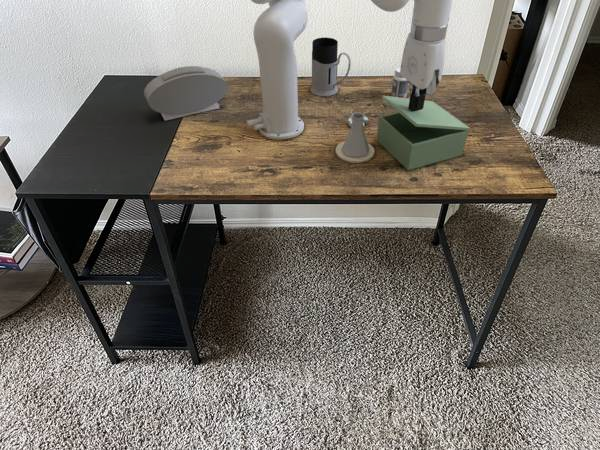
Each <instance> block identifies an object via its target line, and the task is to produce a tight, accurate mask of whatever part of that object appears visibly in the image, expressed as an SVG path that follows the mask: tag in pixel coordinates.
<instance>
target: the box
mask: <svg viewBox="0 0 600 450" xmlns="http://www.w3.org/2000/svg"><path fill="white" fill-rule="evenodd" d="M468 134H469V130H456V129H443V128H430V127H418V126H415V125H414V124H412V123H411V122H410V121H409V120H407V119H406V118H405V117H404V116H403V115H401V114H400V113H399V112H398V111H396V112H393V113H388V114H384V115H380V116H379V117H378V125H377V133H376V142H378V143H379V145H381V146H382V147H383V148H384V149H385V150H386V151H387V152H388V153H389V154H390V155H391V156H392V157H393V158H395V160H396V161H398V163H400V164H401V165H402V166H403V167H404V168H405V170H407V171H411V170H414V169H415V170H416V169H419V168H421V167H425V166H428V165H432V164H435V163H439V162H443V161H446V160H450V159H454V158H457V157H461V156H463V153H464V149H465V147H466V142H467V140H468Z"/></svg>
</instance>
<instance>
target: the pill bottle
mask: <svg viewBox="0 0 600 450" xmlns="http://www.w3.org/2000/svg"><path fill="white" fill-rule="evenodd" d="M400 68H401V66H398V67H395V69H394V75H393V76H392V85H391V92H390V96H391V97H400V98H407V97H408V91H409V90H408V89H409V81H408V80H406V79H405V78H404V77H403V76H402V75H401V73H400Z"/></svg>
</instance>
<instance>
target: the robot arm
mask: <svg viewBox="0 0 600 450" xmlns="http://www.w3.org/2000/svg"><path fill="white" fill-rule="evenodd" d="M250 1H251V2H252V3H254V4H257V5H265V4H268V6H269V7H268V8H266V9H265V10H264V11H262V12H261V13H260V15H259V16H258V17H257V19H256V20H255V23H254V25H253V26H254V27H253V41H254V45H255V49H256V55H257V59H258V66H259V67H258V68H259V69H258V70H259V77H260V78H259V79H260V90H261V91H260V92H261V101H262V112H260V113H259V116H257V118H255V119H253V118H252V119H249V120H248V119H247V120H246V126H247V128H248V129H249V128H253V129H254V130H255V131H257V130H258V132H259V133H260V134H261V135H262V136H264V137H265V138H268V139H271V140H275V141H276V140H277V141H281V140H291V139H293V138H295V137H298V136H299V135H301V134H302V133H303V132H304V129H305V123H304V121H303V120H302V119H301V118H300V117H299V92H298V90H299V89H298V64H297V63H298V62H297V57H296V53H295V48H294V44H295V41H296V40H297V39H298V38H299V37H300V35H301V34H302V33H303V32H304V31H305V30H306V27H307V25H308V18H309V17H308V16H309V15H308V9H307V5H306V1H305V0H250ZM370 1H371V2H372V3H373V5H375V6H376V7H377V8H379V9H380V10H382V11H384V12H387V13H392V12H394V13H395V12H398V11H400V10H402V9H403V8H404V7H405V6H406V5H407V4H408V2H409V1H410V0H370ZM452 5H453V0H413V8H412V9H413V10H412V17H411V23H410V31H409V33H408V34H407V37H406V41H405V44H404V46H403V52H402V56H401V61H400V67H401V68H400V73H401V75H402V76H403V77H404V78H405V79H406V80H408V81H409V83H408V85H409V86H408V89H409V90H408V91H409V93H410V94H409V99H410V100H409V107H408V108H409V109H410V110H411V111H412V112H414V111H418V110H422V109H423V107H424V101H425V100H426V96H429V95H430V96H432V95H435V94H436V93H437V87H438V86H440V84H441V81H442V78H443V77H442V76H443V72H444V65H445V55H446V41H445V40H446V35H447V30H448V26H449V20H450V15H451V10H452Z"/></svg>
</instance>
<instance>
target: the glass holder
mask: <svg viewBox="0 0 600 450" xmlns="http://www.w3.org/2000/svg"><path fill="white" fill-rule="evenodd" d="M311 44H312V46H311V47H312V50H311V87H310V92H311V94H313V95H315V96H318V97H330V96H335V95H336V94H337V93H338V91H339V88H338V84H339V83H341V82H342V81H344V80H345V79H347V77H348V75H349V73H350V70H351V64H352V61H351V57H350V55H349V54H348V53H347V52H341V53H340V54H339V55H338V47H339V41H338V40H337V39H336V38H333V37H327V36H326V37H318V38H315V39H314V40H312V43H311ZM343 55H344V56H345V57H347V60H348V67H347V70H346V73H345V75H344V76H343V78H342V79H340V80H338V66H339V65H340V62H341V56H343Z"/></svg>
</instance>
